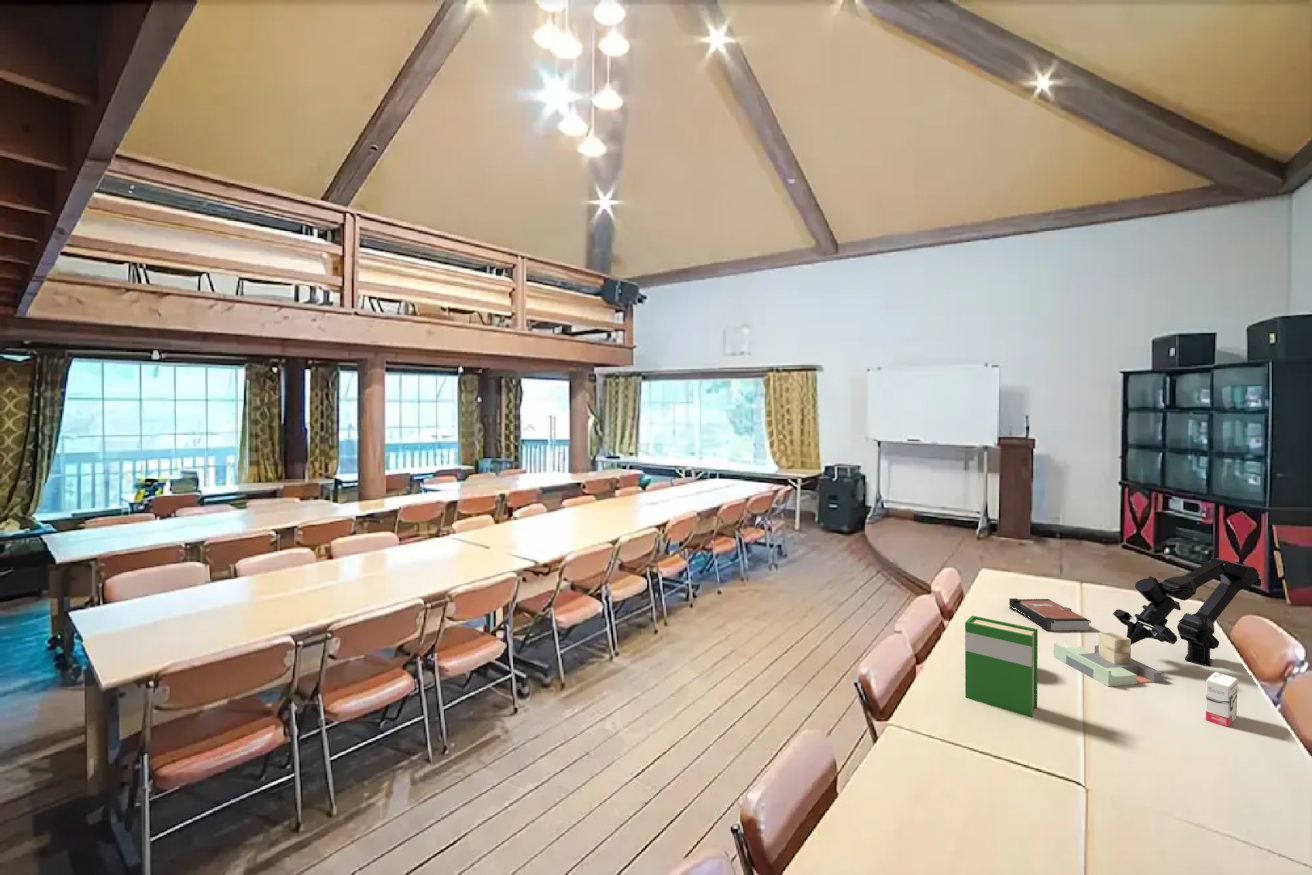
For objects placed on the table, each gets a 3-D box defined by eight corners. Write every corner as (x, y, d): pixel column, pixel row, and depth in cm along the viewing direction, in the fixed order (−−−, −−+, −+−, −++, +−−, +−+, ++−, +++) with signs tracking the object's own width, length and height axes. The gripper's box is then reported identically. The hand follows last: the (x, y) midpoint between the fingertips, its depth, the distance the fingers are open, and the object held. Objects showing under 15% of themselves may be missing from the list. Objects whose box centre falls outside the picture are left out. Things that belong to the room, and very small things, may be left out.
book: (1092, 632, 226) (1092, 619, 226) (1047, 632, 227) (1047, 620, 227) (1050, 608, 252) (1050, 597, 252) (1009, 609, 253) (1009, 598, 253)
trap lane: (1102, 652, 207) (1102, 639, 206) (1162, 681, 185) (1162, 666, 185) (1053, 656, 205) (1053, 643, 204) (1108, 686, 183) (1108, 671, 183)
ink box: (1228, 727, 158) (1229, 686, 158) (1204, 719, 163) (1205, 679, 162) (1237, 717, 163) (1238, 677, 162) (1213, 710, 167) (1214, 671, 167)
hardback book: (1037, 707, 172) (1037, 628, 171) (1031, 717, 166) (1032, 636, 165) (972, 688, 184) (972, 615, 183) (965, 697, 179) (965, 622, 178)
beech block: (1114, 654, 198) (1114, 632, 198) (1130, 662, 192) (1130, 639, 192) (1098, 656, 198) (1098, 633, 197) (1114, 663, 192) (1114, 640, 191)
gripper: (1200, 636, 187) (1169, 671, 187) (1146, 615, 206) (1117, 648, 205) (1179, 614, 186) (1148, 649, 186) (1126, 595, 205) (1098, 627, 204)
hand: (1127, 644), depth 195 cm, fingers closed
